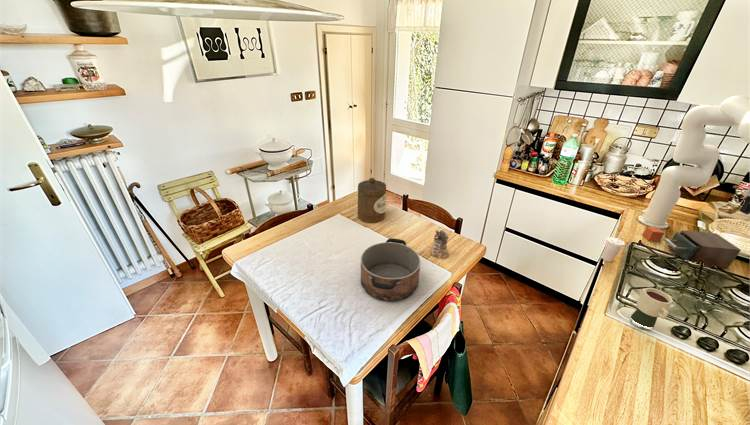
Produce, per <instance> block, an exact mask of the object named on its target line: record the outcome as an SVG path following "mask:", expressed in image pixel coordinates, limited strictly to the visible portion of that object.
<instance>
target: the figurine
mask: <svg viewBox="0 0 750 425" xmlns="http://www.w3.org/2000/svg"><path fill="white" fill-rule="evenodd" d="M448 239H449V236H448V234H447V232H446V231H445V230H443V229H441V230H438V229H437V230H435V234H434V237H433V242H432V244H431V249H430V254H431V256H432V257H434V258H436V259H444V258H446V257H448V246H447V244H449V243H448Z"/></svg>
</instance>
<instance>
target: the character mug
mask: <svg viewBox="0 0 750 425" xmlns="http://www.w3.org/2000/svg"><path fill="white" fill-rule="evenodd" d="M672 304H673V298H672V297H671V295H669V294H668V293H666V292H665V291H663V290H660V289H657V288H654V287H646V288H644V287H643V288H642V289H641V290H640V292H639V297H638V299H637V301H636V308H637V309H636V310H634V312H632V313H631V315H630V316H631V318H632V319H633V320H634V321H635V322H637V323H639V324H641V325H643V326H647V327H653V328H655V325H656V322H657V321H658V318H660V319H662V320H666V318H667V317H668V315H669V314H670V312H669V309H670V308H671V305H672ZM636 327H638V326H636ZM638 328H639V327H638Z"/></svg>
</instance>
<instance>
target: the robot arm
mask: <svg viewBox="0 0 750 425" xmlns="http://www.w3.org/2000/svg"><path fill="white" fill-rule="evenodd" d="M705 126H713V127H734V126H738V128H737V135H738V136H739V137H740V139H742V141H744V142H746V143H747V144H749V145H750V95H749V94H747V95H746V94H744V95H743V94H740V95H732V96H730V97H727V98H726V99H724V100H723V101H722V102H721V104H720V105H717V104H716V105H715V104H704V105H703V104H702V105H697V106H694V107H692V108H691V109H689V110H688V111H687V112H686V114H685V115H684V117H683V119H682V124H681V132H680V135H679V138H678V140H677V142H676V146H675V149H674V151H673V154H672V160H673V161H674V162H675V163H678V164H685V165H694V166H685V165H672V166H667V167H665V168H664V169H663V170H662V171H661V174H660V179H659V182H658V185H657V187H656V189H655V191H654V193H653V195H652V197H651V200H650V201H649V203H648V205H647V207H646V208H645V209H642V210H641V212H642V215H639V216H638V218H637V220H638V222H640V223H641V224H643V225H645V226H646V227H647V226H648V227H658V228H659V229H661V230H665V229H668V227H669V223H668V222H667V221H668V220H669V218H670V216H671V214H672V213H673V211H674V208H675V207H676V205H677V204H678V202H679V200H680V198H681V194H682V193H681V190H680V187H690V188H691V187H692V188H700V187H704V186H706V185H707V184H708V182H709V181H710V179H711V177H712V174H713V172H714V170H715V168H716V166H717V163H718V161H719V158H720V151H719V150H720V149H719V148H718V147H717V146H716V145H714V144H713V145H712V144H707V143H706V144H705V143H704V142H705V139H706V137H707V131H706V128H705ZM742 194H743V195H742V198H743V203H742V205H741V207H740V208H739V210H738V211H739V212H741V213H742V214H744V215H750V188H749V189H745V190H743V192H742Z"/></svg>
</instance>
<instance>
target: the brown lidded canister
mask: <svg viewBox="0 0 750 425" xmlns="http://www.w3.org/2000/svg"><path fill="white" fill-rule="evenodd" d="M386 208H387V184H386V183H385V182H384V181H381V180H376V179H375V178H374V177H370V178H369V179H368V180H363V181H360V182H359V183H358V184H357V218H358V219H359V220H360V221H361V222H364V223H367V224H375V223H379V222H382V221H384V219H386Z"/></svg>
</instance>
